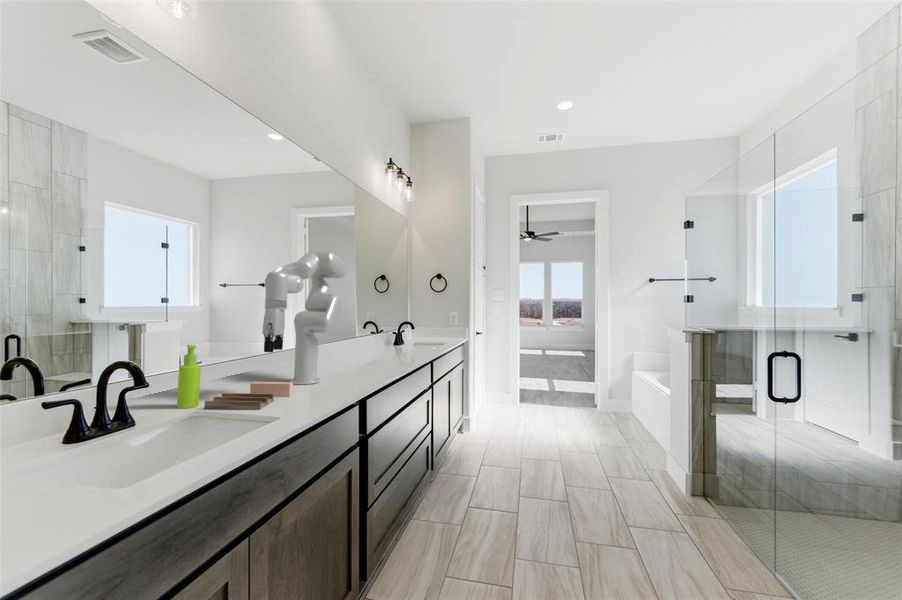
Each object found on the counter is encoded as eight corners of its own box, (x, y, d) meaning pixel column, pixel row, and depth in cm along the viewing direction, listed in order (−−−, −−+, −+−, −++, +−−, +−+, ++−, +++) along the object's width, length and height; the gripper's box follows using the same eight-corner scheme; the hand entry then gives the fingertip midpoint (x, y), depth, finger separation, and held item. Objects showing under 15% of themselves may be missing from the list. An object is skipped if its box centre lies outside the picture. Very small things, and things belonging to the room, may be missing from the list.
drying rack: (222, 400, 134) (223, 393, 134) (273, 400, 135) (273, 393, 135) (204, 409, 122) (204, 401, 122) (260, 409, 123) (260, 401, 123)
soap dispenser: (178, 410, 119) (181, 346, 120) (175, 405, 125) (179, 344, 125) (200, 407, 123) (203, 345, 124) (197, 403, 128) (200, 343, 129)
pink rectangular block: (253, 395, 144) (254, 381, 144) (292, 395, 145) (292, 382, 145) (249, 397, 140) (250, 383, 141) (289, 397, 142) (289, 384, 142)
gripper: (273, 305, 152) (271, 348, 151) (256, 304, 135) (253, 352, 134) (293, 306, 153) (291, 349, 152) (278, 305, 136) (275, 353, 135)
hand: (273, 350), depth 143 cm, fingers open, 9 cm apart
